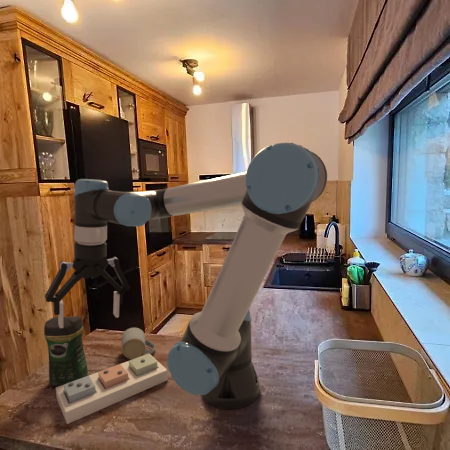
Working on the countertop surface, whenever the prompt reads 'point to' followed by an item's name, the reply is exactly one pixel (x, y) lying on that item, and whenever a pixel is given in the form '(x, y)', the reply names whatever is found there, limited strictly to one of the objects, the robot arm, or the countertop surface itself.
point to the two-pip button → (112, 376)
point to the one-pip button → (142, 364)
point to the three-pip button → (79, 389)
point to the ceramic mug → (135, 343)
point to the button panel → (109, 392)
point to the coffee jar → (65, 350)
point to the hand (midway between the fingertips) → (89, 320)
